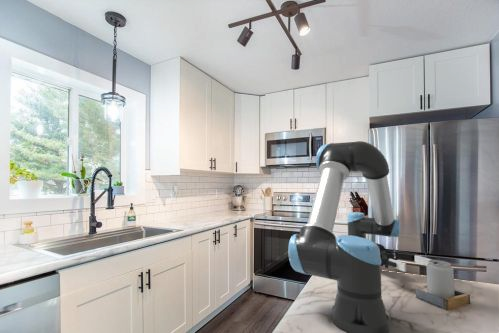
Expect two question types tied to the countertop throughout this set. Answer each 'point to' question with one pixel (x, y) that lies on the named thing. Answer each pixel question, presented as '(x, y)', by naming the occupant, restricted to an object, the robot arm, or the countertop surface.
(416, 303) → the countertop surface
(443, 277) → the can
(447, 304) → the open rectangular tray
